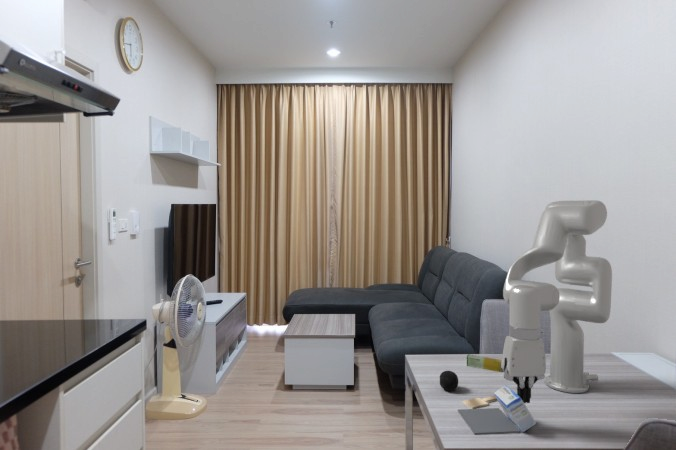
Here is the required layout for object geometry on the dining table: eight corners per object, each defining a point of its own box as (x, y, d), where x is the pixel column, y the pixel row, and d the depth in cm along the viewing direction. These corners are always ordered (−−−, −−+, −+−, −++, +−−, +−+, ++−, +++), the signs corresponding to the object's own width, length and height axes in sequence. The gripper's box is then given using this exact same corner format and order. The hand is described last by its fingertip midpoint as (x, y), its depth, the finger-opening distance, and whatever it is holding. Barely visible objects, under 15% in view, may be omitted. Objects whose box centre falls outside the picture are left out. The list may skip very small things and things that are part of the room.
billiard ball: (459, 394, 136) (459, 375, 136) (439, 393, 137) (439, 374, 137) (457, 386, 142) (457, 368, 141) (438, 385, 143) (438, 367, 143)
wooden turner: (503, 393, 136) (503, 391, 136) (514, 399, 132) (514, 396, 132) (462, 403, 130) (462, 400, 130) (472, 409, 126) (472, 406, 126)
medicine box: (508, 418, 120) (492, 393, 119) (521, 409, 120) (505, 383, 120) (523, 433, 112) (506, 406, 111) (537, 423, 112) (520, 396, 112)
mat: (498, 409, 125) (498, 408, 125) (520, 432, 112) (520, 431, 112) (457, 410, 125) (457, 409, 125) (474, 434, 112) (474, 432, 112)
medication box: (466, 366, 160) (466, 356, 160) (468, 364, 162) (468, 353, 162) (500, 372, 154) (500, 361, 153) (501, 370, 156) (502, 359, 156)
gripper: (544, 328, 119) (543, 394, 120) (491, 329, 118) (490, 395, 119) (559, 336, 112) (559, 406, 113) (503, 337, 111) (502, 408, 112)
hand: (524, 400), depth 116 cm, fingers closed
